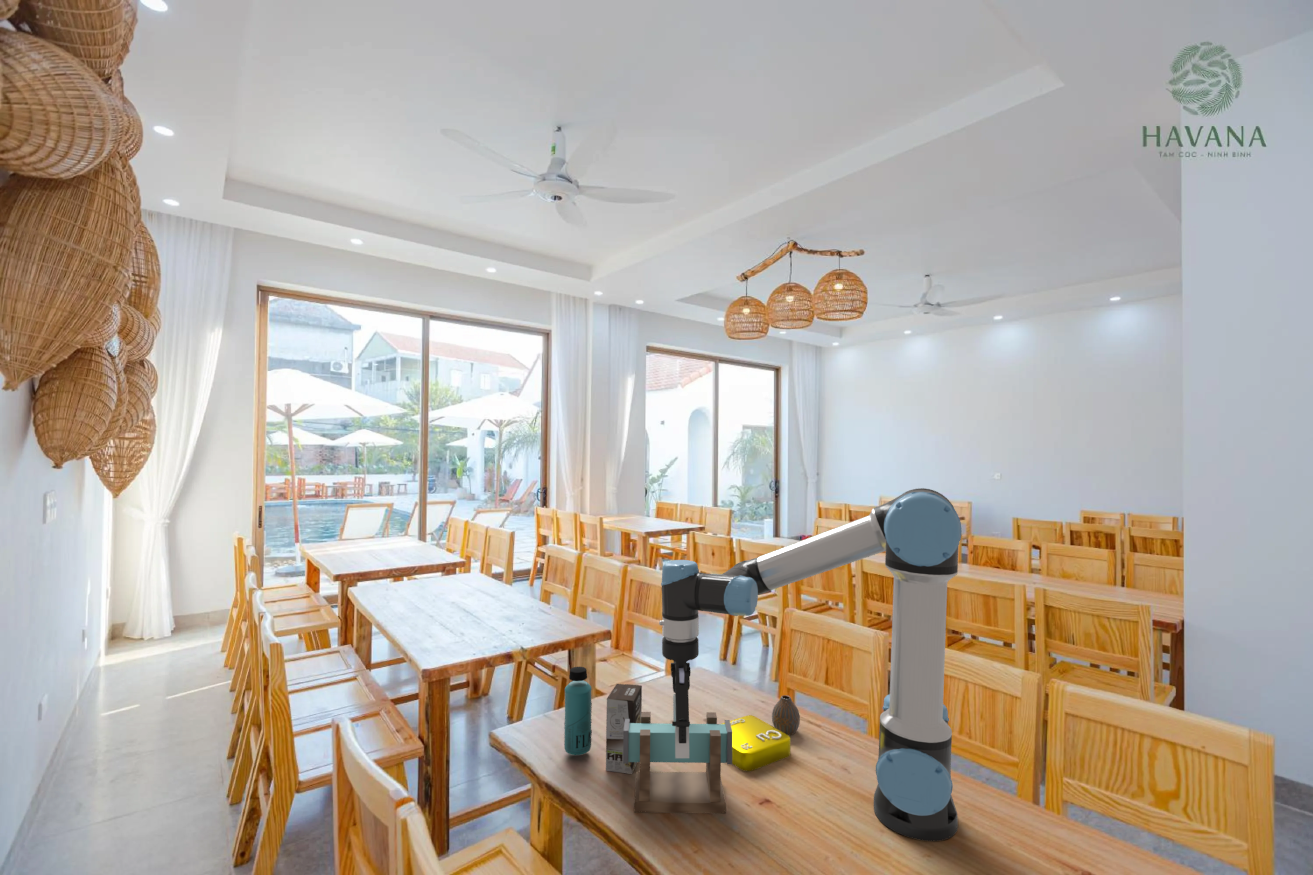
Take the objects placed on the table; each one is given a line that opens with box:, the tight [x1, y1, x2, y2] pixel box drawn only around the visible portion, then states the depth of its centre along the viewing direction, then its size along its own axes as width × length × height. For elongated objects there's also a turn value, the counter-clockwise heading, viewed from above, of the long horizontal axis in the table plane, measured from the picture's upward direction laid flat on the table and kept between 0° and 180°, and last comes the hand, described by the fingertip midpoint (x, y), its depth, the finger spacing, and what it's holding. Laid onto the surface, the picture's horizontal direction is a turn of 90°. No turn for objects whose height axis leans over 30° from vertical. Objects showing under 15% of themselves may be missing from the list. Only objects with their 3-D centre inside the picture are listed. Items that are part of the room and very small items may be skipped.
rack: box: [633, 711, 727, 814], centre depth 124 cm, size 18×11×15 cm, turn 90°
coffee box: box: [605, 683, 643, 775], centre depth 137 cm, size 9×6×16 cm
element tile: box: [721, 714, 792, 772], centre depth 143 cm, size 15×15×5 cm
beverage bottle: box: [563, 666, 593, 756], centre depth 140 cm, size 6×7×20 cm
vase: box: [771, 695, 801, 737], centre depth 152 cm, size 7×7×9 cm
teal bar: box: [623, 719, 733, 766], centre depth 124 cm, size 22×5×7 cm, turn 90°
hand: (680, 740), depth 124 cm, fingers open, 13 cm apart
